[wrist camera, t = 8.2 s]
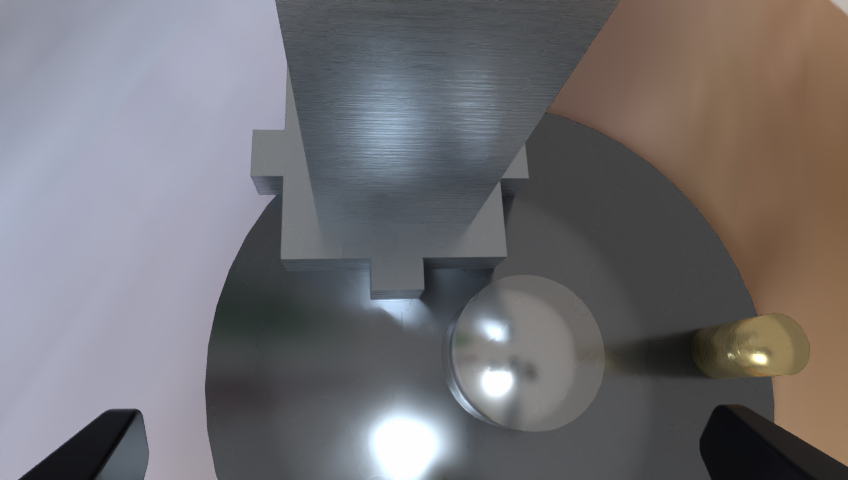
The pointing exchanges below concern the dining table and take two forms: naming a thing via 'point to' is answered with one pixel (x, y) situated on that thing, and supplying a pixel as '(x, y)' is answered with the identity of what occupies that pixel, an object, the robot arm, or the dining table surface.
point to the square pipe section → (411, 128)
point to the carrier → (501, 343)
